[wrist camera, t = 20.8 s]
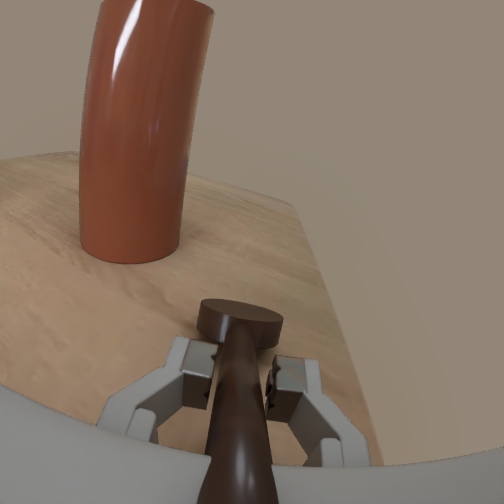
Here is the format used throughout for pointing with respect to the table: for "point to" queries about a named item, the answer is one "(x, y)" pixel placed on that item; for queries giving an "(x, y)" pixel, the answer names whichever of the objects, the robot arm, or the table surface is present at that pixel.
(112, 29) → the canister
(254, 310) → the brown disc-ended rod
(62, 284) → the table surface
